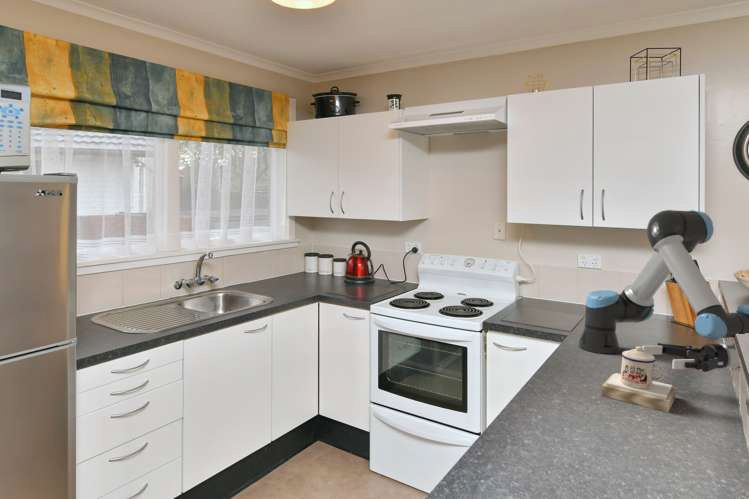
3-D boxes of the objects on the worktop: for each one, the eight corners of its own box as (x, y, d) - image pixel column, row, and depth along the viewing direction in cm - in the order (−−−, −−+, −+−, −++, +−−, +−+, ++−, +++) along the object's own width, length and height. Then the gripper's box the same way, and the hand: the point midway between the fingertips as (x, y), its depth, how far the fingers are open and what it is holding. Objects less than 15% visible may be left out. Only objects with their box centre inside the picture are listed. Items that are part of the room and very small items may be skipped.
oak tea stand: (601, 395, 152) (602, 383, 152) (612, 383, 163) (613, 371, 163) (668, 412, 141) (669, 398, 141) (675, 397, 152) (676, 385, 152)
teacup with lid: (616, 384, 151) (619, 347, 150) (622, 376, 158) (626, 340, 157) (661, 394, 144) (665, 356, 142) (665, 386, 151) (669, 348, 150)
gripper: (754, 382, 142) (686, 383, 139) (688, 355, 167) (630, 356, 164) (756, 356, 141) (689, 358, 139) (690, 333, 166) (632, 333, 163)
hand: (657, 356), depth 151 cm, fingers open, 13 cm apart
